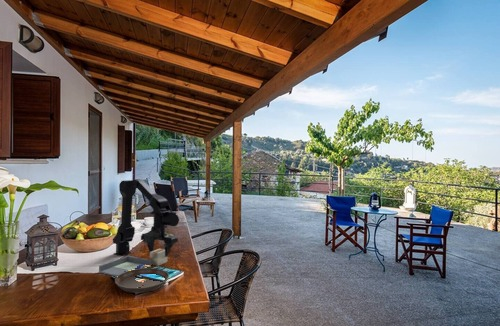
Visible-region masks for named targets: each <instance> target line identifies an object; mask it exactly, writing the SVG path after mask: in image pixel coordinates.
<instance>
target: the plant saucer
mask: <svg viewBox="0 0 500 326" xmlns="http://www.w3.org/2000/svg"><path fill="white" fill-rule="evenodd" d="M140 274H156V275H160V276H162V277H164V278H165V281H163V282H160V281H153V280H149V279H147V280H146V281H144V283H142V282H138V281H136V280H135V279H136V277H135V276H137V275H140ZM169 278H170V274H169V272H167V271H166V270H163V269H160V268H153V267H149V268H143V269H135V270H131V271H127V272H125V273H122V274H121V275H119V276H118V277H117V276H116V278H115V280H114V282H115V284H116V285H117V287H118V288H119V289H121V290H122V291H124V292H127V293H133V294H134V293H135V294H136V293H137V294H139V293H140V294H141V293H142V294H143V293H149V292H151V291H155V290H158V289H160V288H161V287H162V286H163V285H165V283H166V282H167V281H168V279H169ZM142 285H144V286H142ZM137 287H141V288H137Z"/></svg>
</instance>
